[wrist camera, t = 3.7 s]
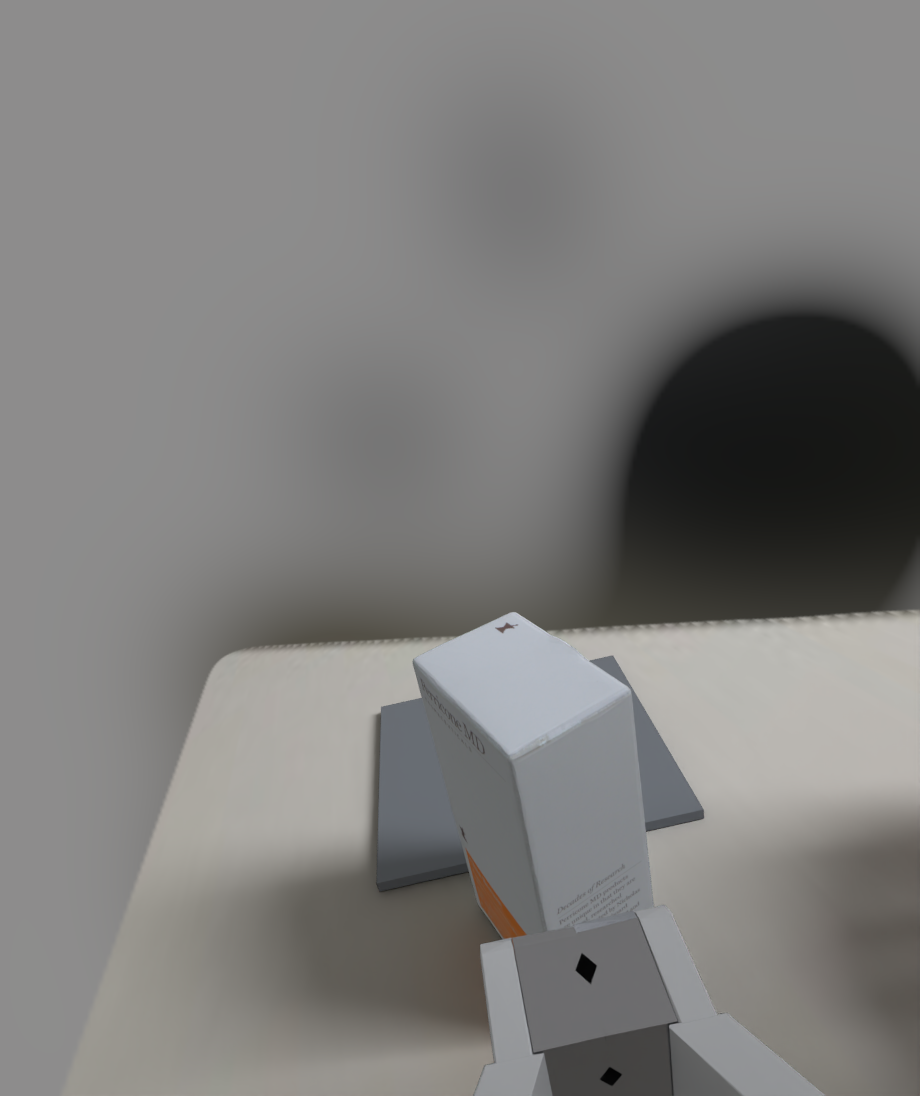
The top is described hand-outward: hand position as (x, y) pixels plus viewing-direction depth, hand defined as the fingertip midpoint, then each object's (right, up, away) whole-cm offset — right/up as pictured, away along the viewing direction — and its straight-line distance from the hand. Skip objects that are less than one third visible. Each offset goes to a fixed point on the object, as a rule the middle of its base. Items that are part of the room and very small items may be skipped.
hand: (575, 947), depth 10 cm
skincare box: (+2, -8, +14) cm, 16 cm away
